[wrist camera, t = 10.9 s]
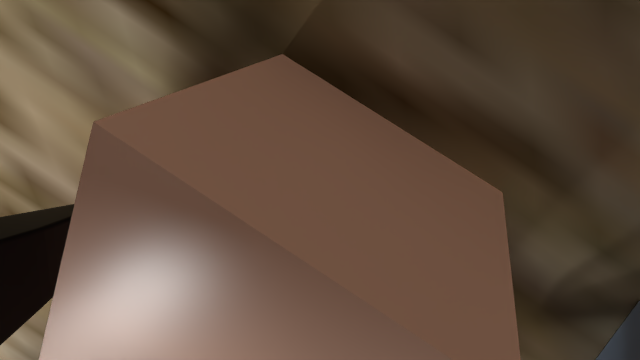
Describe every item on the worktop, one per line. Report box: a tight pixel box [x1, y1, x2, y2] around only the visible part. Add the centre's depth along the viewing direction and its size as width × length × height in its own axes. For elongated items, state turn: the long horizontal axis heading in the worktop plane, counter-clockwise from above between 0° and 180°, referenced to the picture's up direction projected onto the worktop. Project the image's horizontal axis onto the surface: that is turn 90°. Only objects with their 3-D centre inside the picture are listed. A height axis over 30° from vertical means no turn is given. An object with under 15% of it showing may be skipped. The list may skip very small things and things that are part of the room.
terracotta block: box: [39, 54, 521, 360], centre depth 8 cm, size 8×5×5 cm, turn 152°
